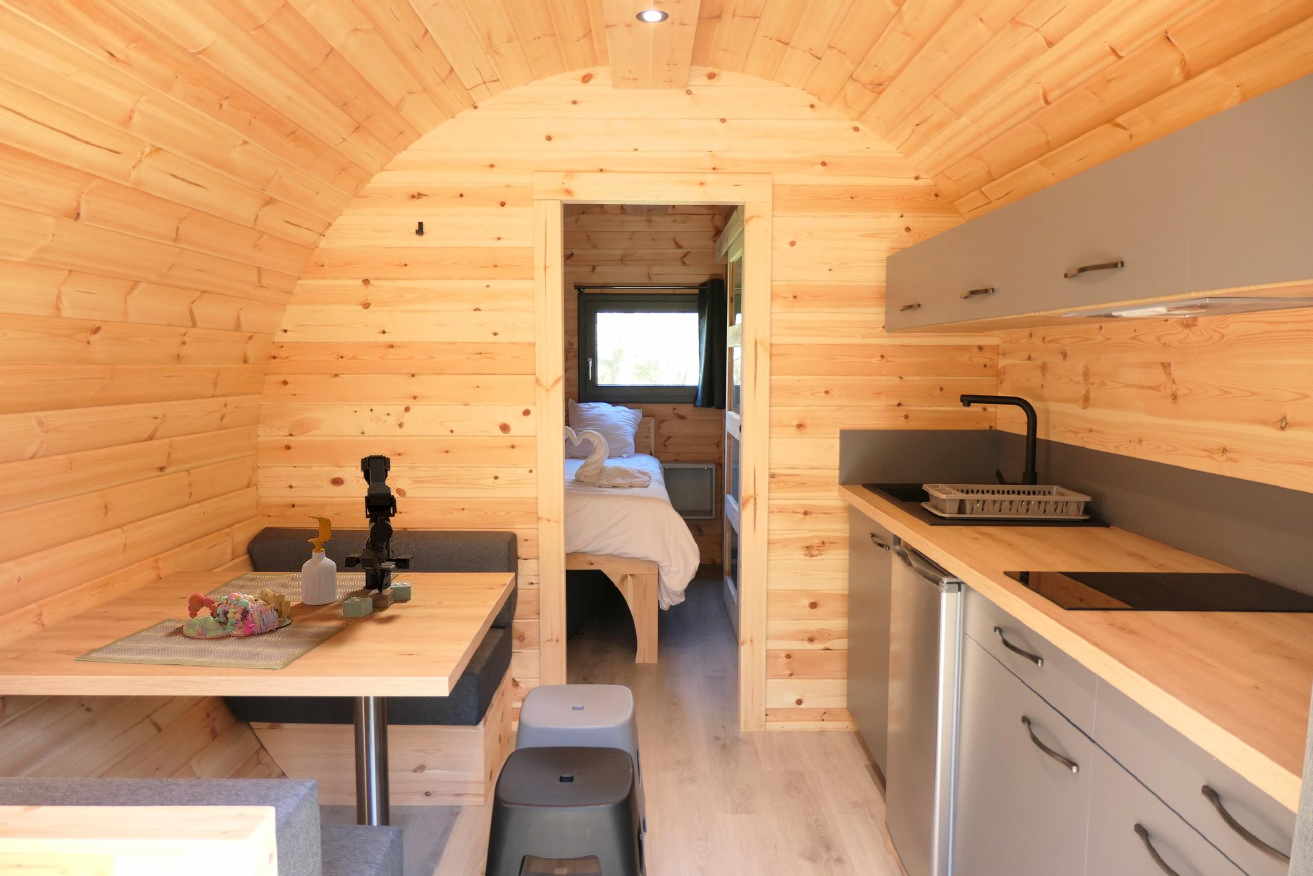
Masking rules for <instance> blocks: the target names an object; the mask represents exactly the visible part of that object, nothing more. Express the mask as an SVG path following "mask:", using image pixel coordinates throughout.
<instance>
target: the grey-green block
mask: <svg viewBox="0 0 1313 876" xmlns="http://www.w3.org/2000/svg"><path fill="white" fill-rule="evenodd" d="M372 613H373V608H372V598H368V597H360V596H359V597H358V596H353V597H351V598H348V599H346V600H344V601H342V617H346V618H361V619H362V618H365V616H367V615H369V614H372Z"/></svg>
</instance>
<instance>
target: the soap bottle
mask: <svg viewBox="0 0 1313 876" xmlns="http://www.w3.org/2000/svg"><path fill="white" fill-rule="evenodd" d="M308 518H309V519H310V518H311V519H313V520H314V519H315V520H317V521H318V533H319V534H318V537H316V538H310V539H308V540H307V542H308V543H312V544H313V546H314V545H315V548H314V549H312V552H311V553H312V555H311V558H310V559H308V560H307V561H306V562H304V563H303V565H302V568H301V594H302V595H301V598H302V599H301V600H302V603H303V604H304V605H308V606H323V605H328V604H331V603H334V602H336V600H337V598H338V597H337V596H338V593H337V589H338V588H337V566H336V565H337V564H336V563H335V562H334V561H333V560H332V559H330V558H328V557H326V549H325V548H323V547H322V546H323V545H324V544H325V543H324V542H327V541H330V540H331V538H332V521H331V519H329V518H326V517H321V516H313V515H312V516H311V515H309V516H308Z"/></svg>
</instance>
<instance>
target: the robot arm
mask: <svg viewBox="0 0 1313 876" xmlns="http://www.w3.org/2000/svg"><path fill="white" fill-rule="evenodd" d="M390 471H391V457H387V456H386V455H383V454H370V455H367V456H364V457H363V458H360V473H362V475H363V476H362V477H363V479H364V481H365V482H366V483H367V485H368V487H367V491H366V494H367V495H365V496H364V513H365V514H364V515H365V519H369V520H368V537H367V539H366V540H365V542H364V548H362V553H356V552H355V553H351V554H349V555H347V556H346V557H344V559H343V567H344V568H355V567H357V565H358V564H360V567H361V569H363V570H364V571H365V572H364V574H365V575H364V577H365V582H364V583H365V585H364V586H362V588H363V589H365V590H366V589H367V590H368V589H373V590H378V591H379V592H382V591H383V590H385V589H386V588H388V587H390V586H391V583H392V571H393V570H394V569H398V570H409V569H411V568H413V567H415V566H417V557H416V555H414V554H401V555H399V556H397V557H395V551H394V550H393V548H392V543H393V541H394V540H393V539H394V538H393V533H394V530H393V527H392V523H391V522H392V521H391V518H395V517H396V514H397V513H398V509H397V508H398V507H397V506H398V505H397V498H396V497H395V495H394V494H392V489H391V486H389V485H387V483H386V481H387V479H388V476H389V472H390Z"/></svg>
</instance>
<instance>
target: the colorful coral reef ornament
mask: <svg viewBox="0 0 1313 876" xmlns="http://www.w3.org/2000/svg"><path fill="white" fill-rule="evenodd" d="M258 597H259V599H258V600H257V601H255V597H254V596H253V595H250V594H245V593H244V594H243V593H241V592H240V591H237V592H231V593H229V594H228V595H225V596H223V597H221V599H220V601H219V603H218V604H217V605H216V604H215V603H216V601H215V598H213V597H212V596H207V597H206V595H205V594H203V593H201V592H196V593H193V594H191V595H190V597H189V598H188V600H187V601H188V602H187V603H188V607H187V609H188V612H189V614H188V615H189V617H190V619H189V620H188V622H186V623H184V625H183V627H182V633H183V635H184V634H185V636H187V637H188V636H189V637H188V638H195V639H201V640H203V639H204V640H205V639H206V638H207V640H208V639H215V638H221V636H222V637H229V635H231V636H230V637H249V636H252V635H257V634H262V633H269V632H270V631H272V630H273V631H274V632H275V631H276V628H280V627H283V626H287V625H290V623H291V622H292V619H288V616H290V613H289V612H290V610H291V601H290V600H285V598H286V594H285V593H283V592H278V593H277V594H275V593H274V592H273V591H272V590H271V589H269V588H268V589H266V588H265V589H261V590H260V593H259V596H258ZM204 607H206V608H208V610H209V611H210V615H209V614H207V615H203V616H201V617H198V614H199V613H198V612H200V610H201V609H203V608H204ZM251 634H252V635H251Z"/></svg>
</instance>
